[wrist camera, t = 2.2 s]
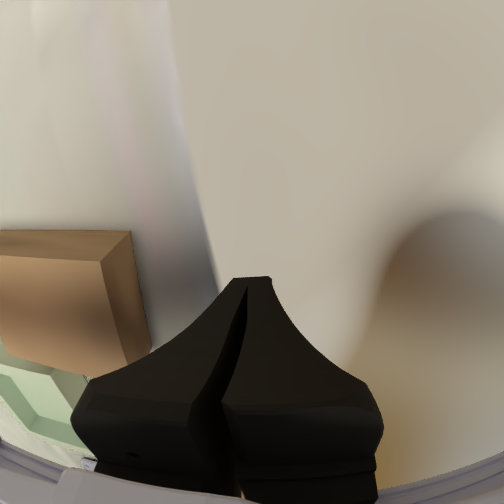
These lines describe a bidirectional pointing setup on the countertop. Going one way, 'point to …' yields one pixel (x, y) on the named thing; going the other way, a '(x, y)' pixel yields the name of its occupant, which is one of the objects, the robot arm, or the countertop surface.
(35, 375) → the tray
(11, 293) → the brown block
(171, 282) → the countertop surface
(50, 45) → the countertop surface
